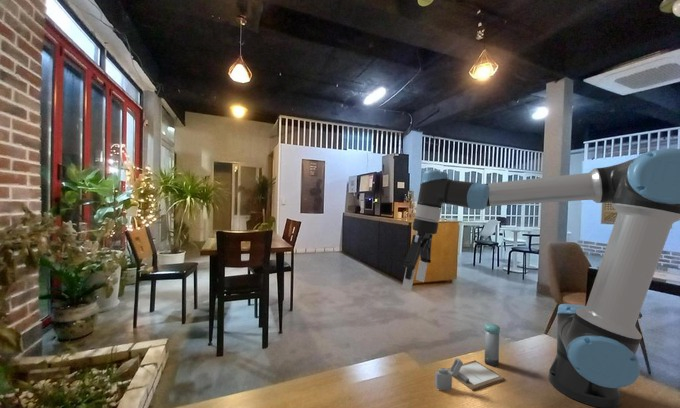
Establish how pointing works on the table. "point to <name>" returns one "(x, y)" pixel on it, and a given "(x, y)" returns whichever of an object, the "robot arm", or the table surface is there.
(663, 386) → the table surface
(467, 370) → the clipboard
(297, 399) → the table surface
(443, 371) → the lighter
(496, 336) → the grey teal cylinder
